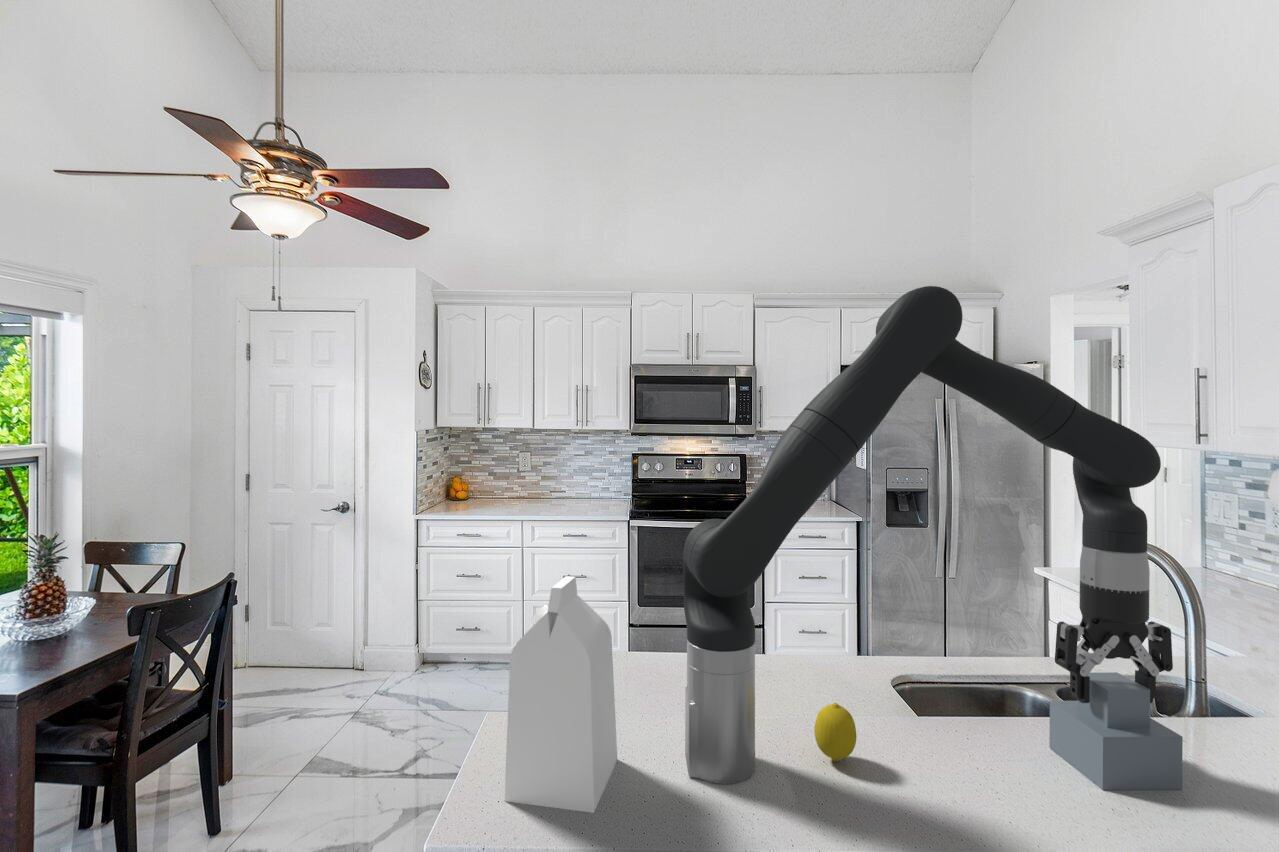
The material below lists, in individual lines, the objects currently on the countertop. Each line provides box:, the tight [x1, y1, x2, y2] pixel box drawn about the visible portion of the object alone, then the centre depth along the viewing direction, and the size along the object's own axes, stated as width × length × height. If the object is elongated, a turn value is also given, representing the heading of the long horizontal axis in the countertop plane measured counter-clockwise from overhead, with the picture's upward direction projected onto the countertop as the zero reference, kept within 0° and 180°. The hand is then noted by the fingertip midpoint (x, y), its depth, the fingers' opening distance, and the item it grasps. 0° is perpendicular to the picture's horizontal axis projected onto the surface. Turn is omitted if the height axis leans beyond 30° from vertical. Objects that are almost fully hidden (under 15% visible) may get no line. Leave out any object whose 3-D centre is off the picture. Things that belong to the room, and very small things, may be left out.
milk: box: [503, 575, 618, 814], centre depth 82 cm, size 12×12×26 cm
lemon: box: [814, 702, 857, 763], centre depth 87 cm, size 6×6×8 cm
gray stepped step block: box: [1049, 671, 1184, 791], centre depth 85 cm, size 10×10×12 cm
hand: (1112, 700), depth 85 cm, fingers open, 8 cm apart
